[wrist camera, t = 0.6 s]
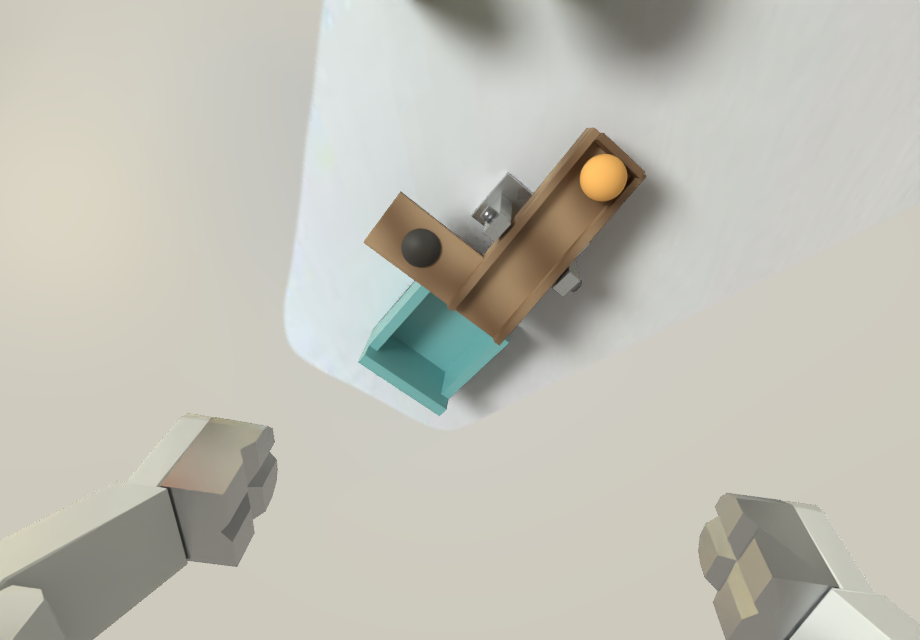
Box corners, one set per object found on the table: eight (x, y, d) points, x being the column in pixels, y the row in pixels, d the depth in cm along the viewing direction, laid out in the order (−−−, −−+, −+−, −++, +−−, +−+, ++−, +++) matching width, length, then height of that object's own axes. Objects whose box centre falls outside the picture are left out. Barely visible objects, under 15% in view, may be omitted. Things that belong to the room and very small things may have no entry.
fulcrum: (506, 170, 45) (504, 193, 39) (591, 243, 48) (600, 274, 42) (470, 212, 47) (463, 239, 42) (553, 279, 50) (557, 313, 44)
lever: (504, 51, 38) (510, 45, 36) (636, 174, 42) (650, 177, 40) (364, 240, 43) (360, 247, 40) (496, 337, 46) (500, 349, 44)
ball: (598, 140, 40) (609, 147, 37) (630, 170, 41) (642, 179, 38) (567, 176, 41) (574, 186, 38) (598, 204, 42) (607, 215, 39)
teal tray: (432, 260, 50) (422, 289, 45) (509, 318, 53) (508, 352, 48) (373, 329, 55) (358, 362, 50) (446, 379, 58) (439, 416, 53)
